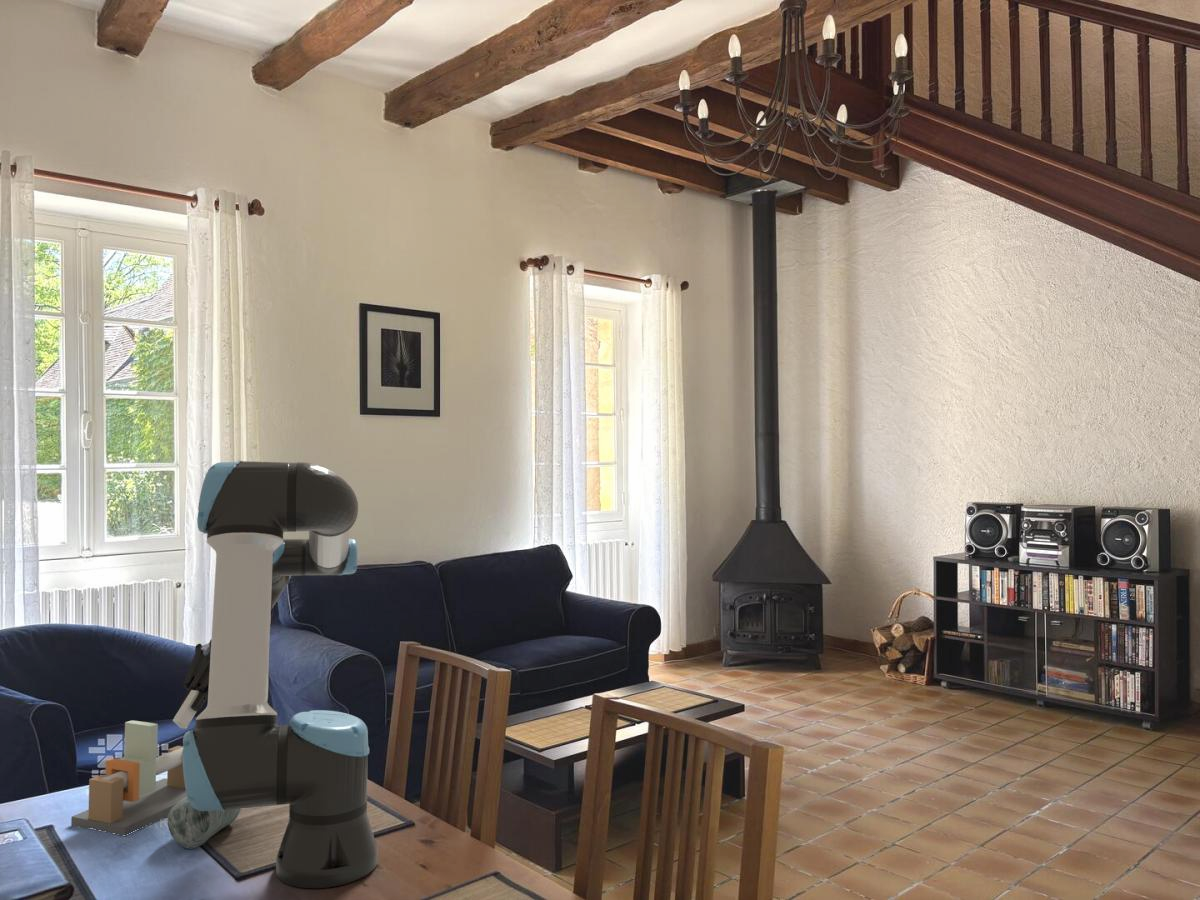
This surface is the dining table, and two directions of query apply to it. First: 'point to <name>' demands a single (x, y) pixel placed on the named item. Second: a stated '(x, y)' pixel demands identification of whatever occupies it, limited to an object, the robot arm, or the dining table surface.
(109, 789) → the rig
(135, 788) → the ring
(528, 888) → the dining table surface
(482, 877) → the dining table surface
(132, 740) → the sleeve
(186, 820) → the grey rounded lump
